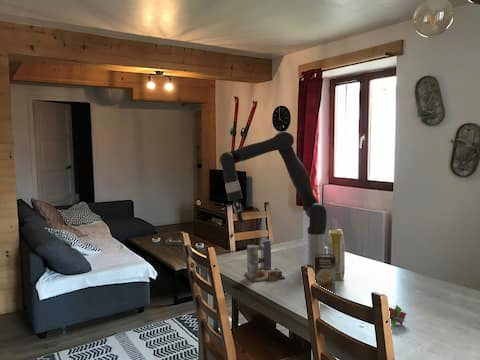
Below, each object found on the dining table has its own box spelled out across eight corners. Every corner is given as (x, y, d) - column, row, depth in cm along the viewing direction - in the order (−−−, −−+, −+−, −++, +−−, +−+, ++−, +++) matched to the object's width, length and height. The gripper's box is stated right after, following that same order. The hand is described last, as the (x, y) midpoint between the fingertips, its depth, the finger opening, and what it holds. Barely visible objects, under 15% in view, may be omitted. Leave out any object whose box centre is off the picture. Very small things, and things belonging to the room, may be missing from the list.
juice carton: (344, 281, 189) (344, 231, 187) (327, 281, 190) (327, 231, 188) (343, 275, 198) (343, 227, 196) (327, 274, 199) (327, 227, 197)
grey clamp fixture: (268, 266, 215) (267, 239, 214) (271, 269, 211) (270, 241, 209) (253, 267, 214) (253, 240, 212) (256, 270, 209) (256, 242, 208)
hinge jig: (276, 271, 207) (275, 240, 206) (284, 278, 195) (284, 246, 193) (244, 274, 203) (244, 243, 202) (251, 282, 191) (251, 249, 189)
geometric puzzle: (405, 314, 146) (392, 297, 146) (414, 322, 139) (401, 304, 139) (390, 326, 146) (377, 309, 146) (398, 334, 139) (384, 317, 139)
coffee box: (314, 293, 175) (314, 257, 173) (313, 288, 181) (312, 253, 180) (335, 293, 174) (335, 257, 172) (333, 288, 180) (333, 253, 179)
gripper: (241, 189, 200) (248, 221, 200) (239, 188, 214) (246, 218, 215) (227, 192, 200) (234, 224, 200) (226, 191, 214) (232, 221, 214)
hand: (240, 221), depth 207 cm, fingers open, 8 cm apart
